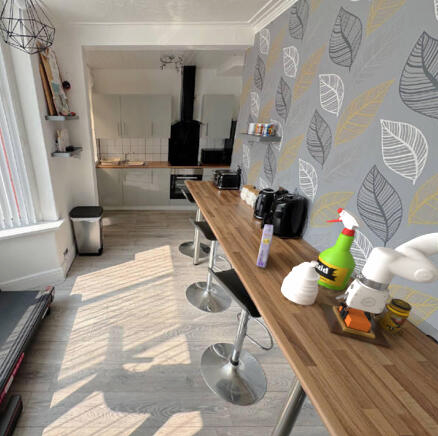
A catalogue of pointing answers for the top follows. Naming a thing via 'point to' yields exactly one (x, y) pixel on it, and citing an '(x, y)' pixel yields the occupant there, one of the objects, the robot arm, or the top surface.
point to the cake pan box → (265, 246)
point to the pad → (357, 320)
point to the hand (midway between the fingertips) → (353, 319)
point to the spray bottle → (339, 254)
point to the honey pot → (302, 284)
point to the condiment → (395, 315)
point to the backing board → (340, 328)
